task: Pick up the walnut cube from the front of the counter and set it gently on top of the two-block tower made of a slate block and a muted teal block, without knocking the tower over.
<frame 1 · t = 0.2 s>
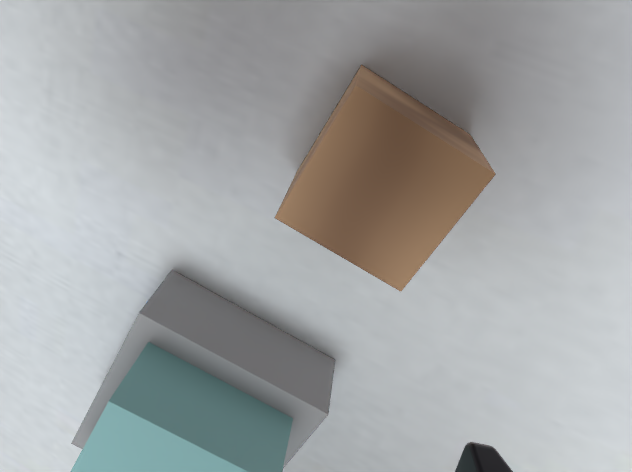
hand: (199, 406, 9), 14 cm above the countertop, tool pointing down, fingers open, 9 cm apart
teal block: (189, 430, 23), point 4 cm above the countertop, touching slate block
walnut cube: (380, 153, 21), on the countertop
slate block: (217, 371, 27), on the countertop, touching teal block
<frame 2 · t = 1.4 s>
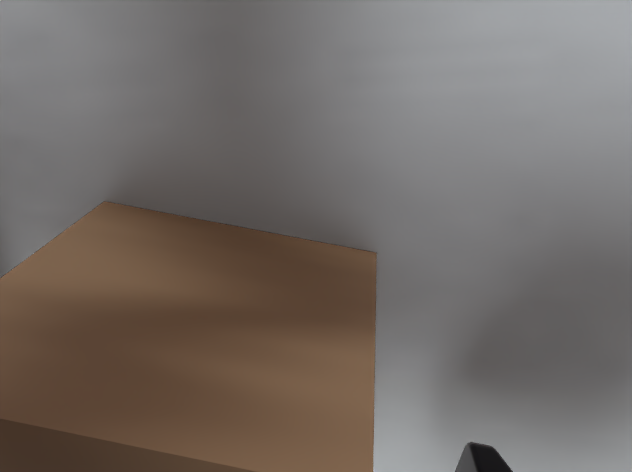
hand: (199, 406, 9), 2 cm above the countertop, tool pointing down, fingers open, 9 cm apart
walnut cube: (229, 336, 10), on the countertop
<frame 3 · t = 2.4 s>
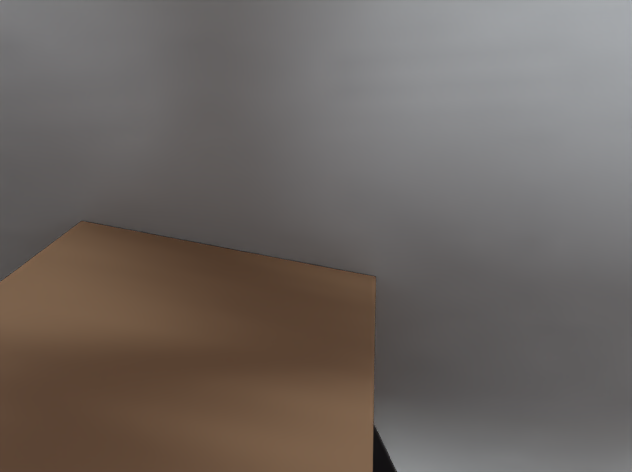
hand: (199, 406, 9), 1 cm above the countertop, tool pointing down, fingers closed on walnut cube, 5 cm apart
walnut cube: (217, 365, 10), on the countertop, touching gripper
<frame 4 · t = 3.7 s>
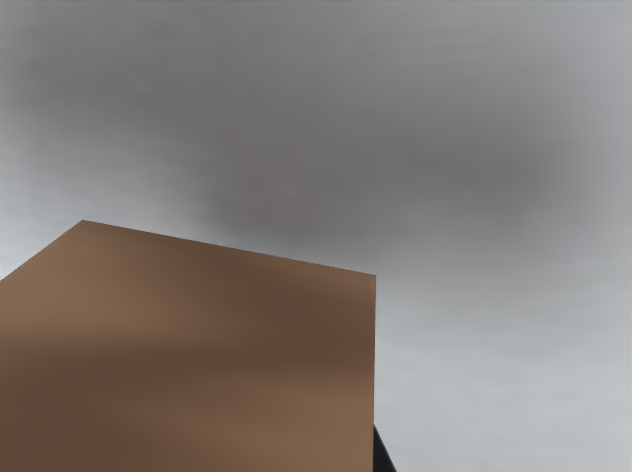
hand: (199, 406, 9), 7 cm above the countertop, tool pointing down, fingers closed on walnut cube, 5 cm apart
walnut cube: (217, 364, 10), point 6 cm above the countertop, touching gripper
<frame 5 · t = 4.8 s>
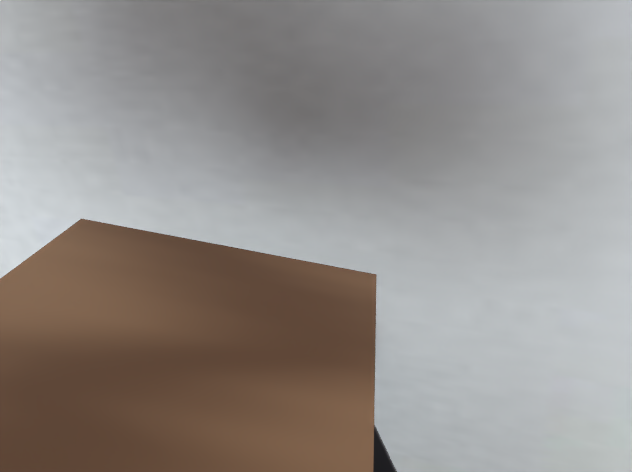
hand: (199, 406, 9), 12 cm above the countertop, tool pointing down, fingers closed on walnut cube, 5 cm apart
walnut cube: (217, 364, 10), point 11 cm above the countertop, touching gripper
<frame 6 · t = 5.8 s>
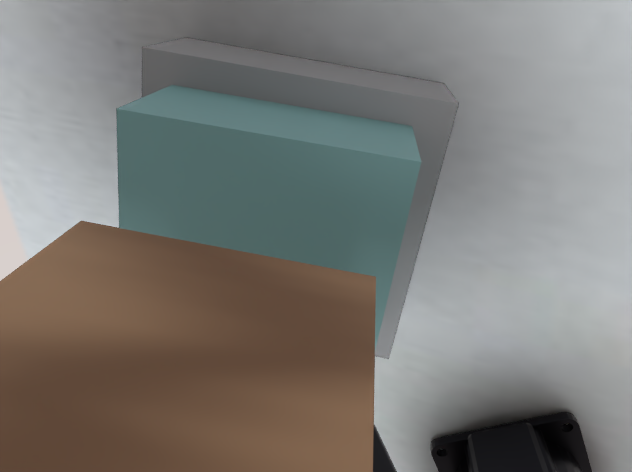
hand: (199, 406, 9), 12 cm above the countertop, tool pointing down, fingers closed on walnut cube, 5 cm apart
teal block: (277, 215, 16), point 4 cm above the countertop, touching slate block
walnut cube: (216, 366, 10), point 11 cm above the countertop, touching gripper
slate block: (297, 179, 20), on the countertop, touching teal block
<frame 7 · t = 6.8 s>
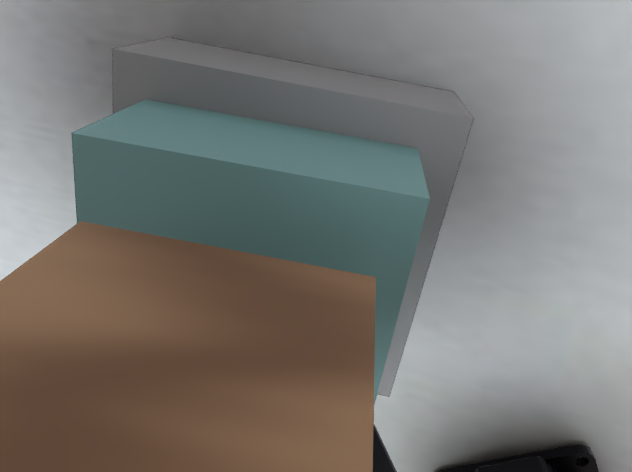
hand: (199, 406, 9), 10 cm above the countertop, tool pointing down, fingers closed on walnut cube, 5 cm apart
teal block: (265, 245, 14), point 4 cm above the countertop, touching slate block
walnut cube: (216, 366, 10), point 9 cm above the countertop, touching gripper
slate block: (290, 194, 18), on the countertop, touching teal block
when the fingers open (8 cm above the countertop, at t = 8.5 s): walnut cube stays where it is, resting on teal block.
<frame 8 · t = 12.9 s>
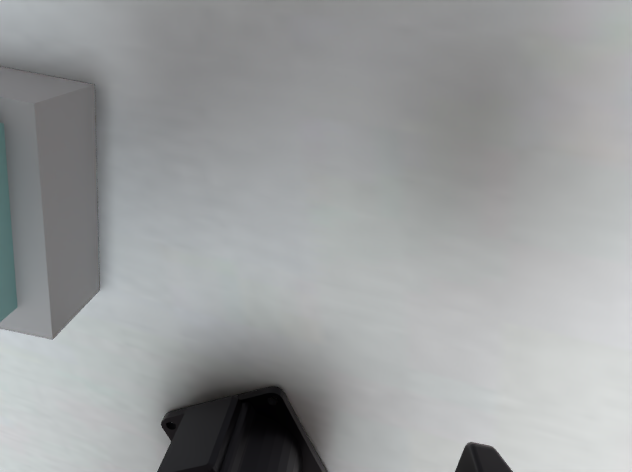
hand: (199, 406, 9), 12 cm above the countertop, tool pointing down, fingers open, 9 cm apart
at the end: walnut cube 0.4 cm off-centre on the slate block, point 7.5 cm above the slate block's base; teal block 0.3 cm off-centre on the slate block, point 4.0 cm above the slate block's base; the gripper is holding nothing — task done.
